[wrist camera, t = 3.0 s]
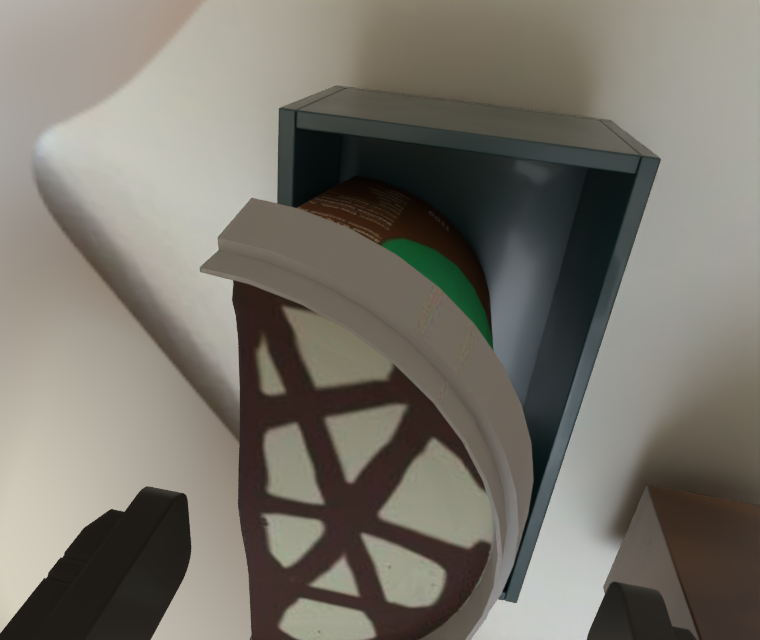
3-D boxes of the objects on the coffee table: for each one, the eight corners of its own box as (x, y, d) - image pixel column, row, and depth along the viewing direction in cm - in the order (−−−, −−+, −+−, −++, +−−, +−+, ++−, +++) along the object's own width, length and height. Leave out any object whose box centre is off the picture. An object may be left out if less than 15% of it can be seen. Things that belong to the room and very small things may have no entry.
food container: (493, 474, 22) (477, 764, 14) (339, 442, 23) (233, 696, 14) (567, 151, 16) (622, 301, 8) (358, 126, 17) (196, 234, 9)
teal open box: (612, 120, 17) (661, 158, 12) (510, 485, 23) (516, 604, 18) (335, 84, 17) (278, 107, 13) (313, 448, 24) (271, 551, 19)
